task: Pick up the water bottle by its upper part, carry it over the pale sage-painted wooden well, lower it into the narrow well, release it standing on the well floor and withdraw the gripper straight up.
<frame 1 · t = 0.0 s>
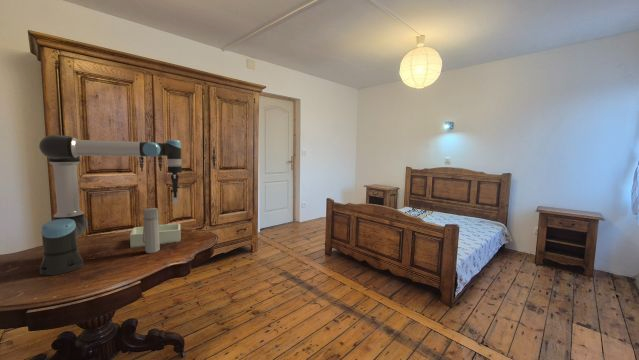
hand: (175, 200, 160), 28 cm above the table, fingers open, 13 cm apart
water bottle: (151, 251, 152), on the table
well: (157, 240, 170), on the table
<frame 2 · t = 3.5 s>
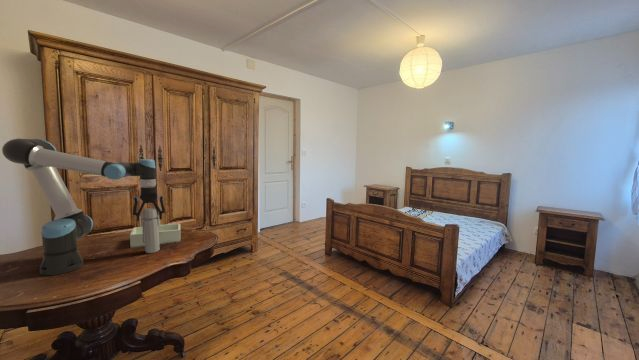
hand: (150, 225, 150), 15 cm above the table, fingers closed on water bottle, 8 cm apart
water bottle: (151, 251, 152), on the table, touching gripper
when the fingers open (18 cm above the table, at t = 8.4 s): water bottle drops 1 cm, resting on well.
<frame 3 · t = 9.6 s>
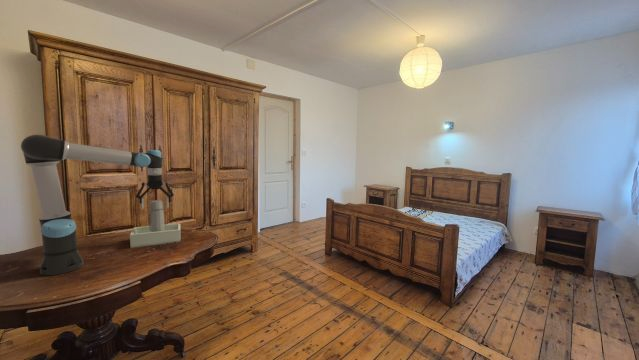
hand: (155, 207, 167), 22 cm above the table, fingers open, 13 cm apart
water bottle: (157, 239, 169), point 1 cm above the table, touching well
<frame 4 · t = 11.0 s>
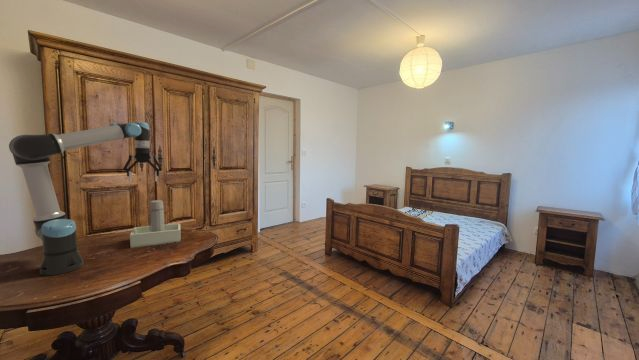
hand: (143, 181, 165), 38 cm above the table, fingers open, 13 cm apart
nothing on the table moved.
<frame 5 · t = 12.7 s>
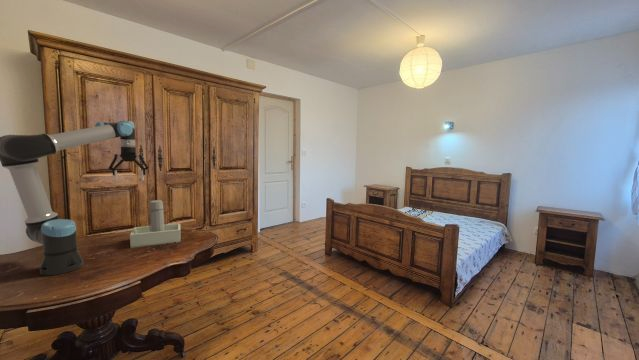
hand: (129, 180, 165), 39 cm above the table, fingers open, 13 cm apart
nothing on the table moved.
at the end: water bottle inside the target area on the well (0.2 cm from its centre), point 0.8 cm above the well's base; water bottle tilted 0°; the gripper is holding nothing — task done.
